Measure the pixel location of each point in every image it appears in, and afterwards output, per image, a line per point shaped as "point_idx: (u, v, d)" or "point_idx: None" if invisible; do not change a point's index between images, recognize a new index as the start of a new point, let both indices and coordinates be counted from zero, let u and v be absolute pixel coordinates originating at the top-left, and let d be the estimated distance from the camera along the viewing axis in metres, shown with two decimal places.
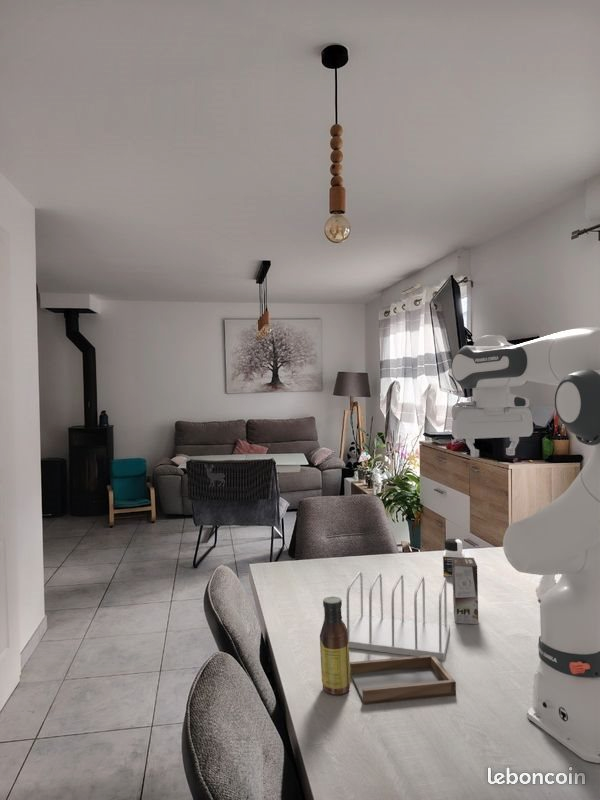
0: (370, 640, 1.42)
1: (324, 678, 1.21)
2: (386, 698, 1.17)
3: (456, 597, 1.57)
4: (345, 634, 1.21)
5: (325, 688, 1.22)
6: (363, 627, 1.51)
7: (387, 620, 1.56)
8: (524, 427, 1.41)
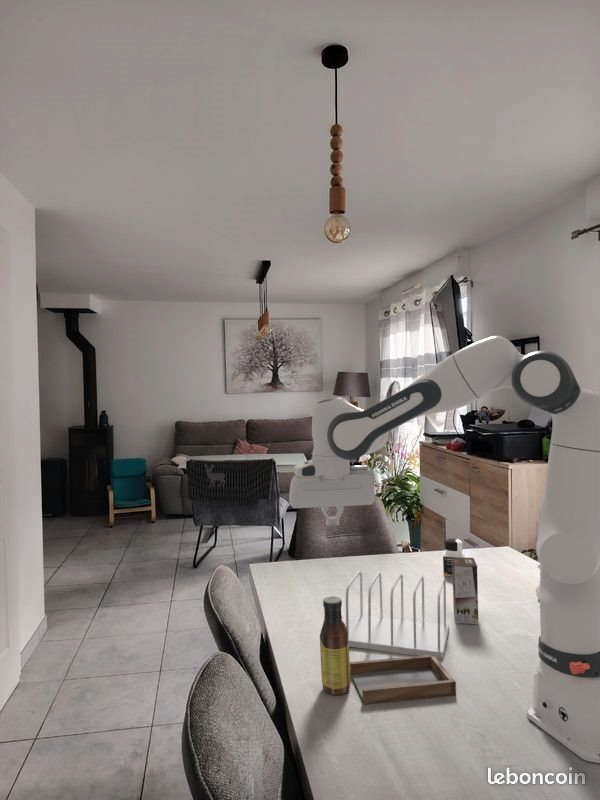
0: (369, 639, 1.43)
1: (324, 678, 1.21)
2: (386, 698, 1.17)
3: (456, 597, 1.57)
4: (345, 634, 1.21)
5: (325, 688, 1.22)
6: (363, 626, 1.52)
7: (387, 619, 1.56)
8: None
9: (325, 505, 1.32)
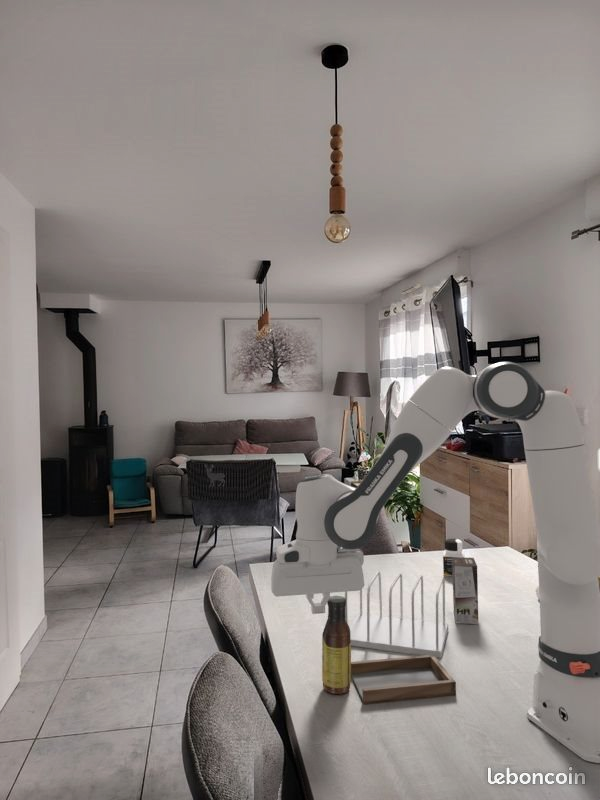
0: (368, 638, 1.44)
1: (325, 677, 1.22)
2: (386, 698, 1.17)
3: (456, 597, 1.57)
4: (348, 634, 1.21)
5: (325, 687, 1.22)
6: (362, 625, 1.53)
7: (386, 618, 1.57)
8: None
9: (310, 592, 1.21)
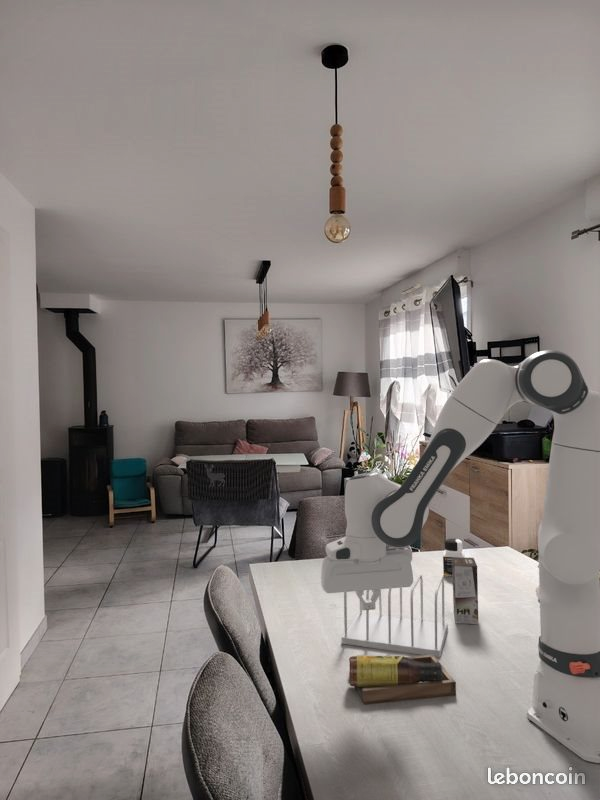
0: (367, 637, 1.44)
1: (364, 661, 1.22)
2: (386, 698, 1.17)
3: (456, 597, 1.57)
4: None
5: (353, 661, 1.22)
6: (361, 625, 1.53)
7: (385, 618, 1.57)
8: None
9: (360, 589, 1.22)
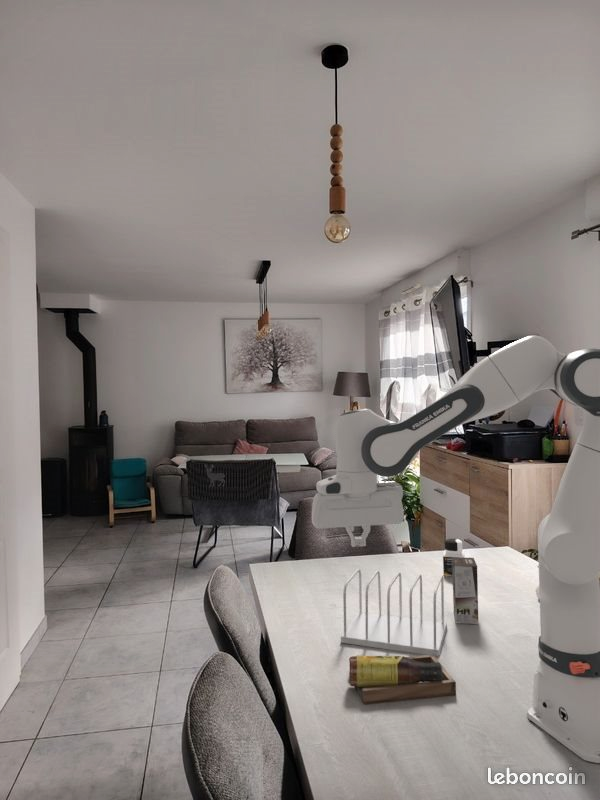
0: (366, 636, 1.45)
1: (364, 661, 1.22)
2: (386, 698, 1.17)
3: (456, 597, 1.57)
4: None
5: (353, 661, 1.22)
6: (361, 624, 1.54)
7: (385, 617, 1.58)
8: None
9: (351, 525, 1.22)
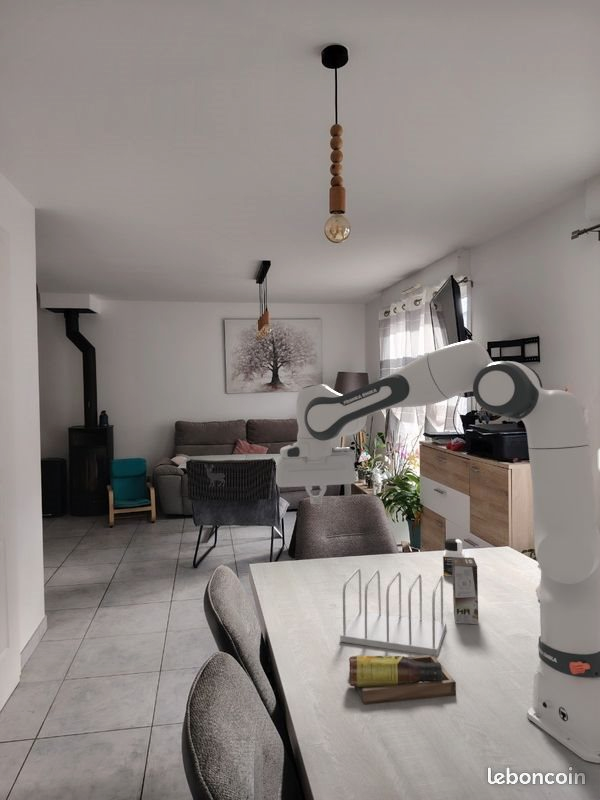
0: (365, 635, 1.45)
1: (364, 661, 1.22)
2: (386, 698, 1.17)
3: (456, 597, 1.57)
4: None
5: (353, 661, 1.22)
6: (360, 623, 1.54)
7: (385, 616, 1.58)
8: None
9: (309, 484, 1.41)
